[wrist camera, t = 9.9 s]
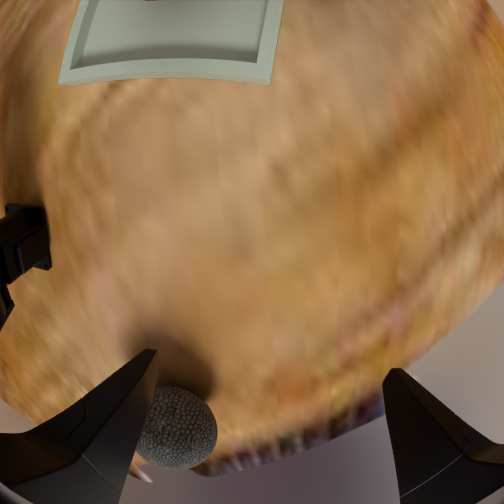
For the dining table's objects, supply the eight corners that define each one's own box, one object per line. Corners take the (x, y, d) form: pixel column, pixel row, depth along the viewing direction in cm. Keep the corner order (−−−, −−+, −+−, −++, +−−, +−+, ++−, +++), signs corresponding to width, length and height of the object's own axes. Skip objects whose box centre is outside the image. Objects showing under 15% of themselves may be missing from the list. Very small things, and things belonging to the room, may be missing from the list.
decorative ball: (138, 401, 30) (117, 462, 21) (143, 356, 26) (112, 431, 17) (210, 423, 31) (201, 487, 22) (232, 384, 27) (224, 464, 18)
